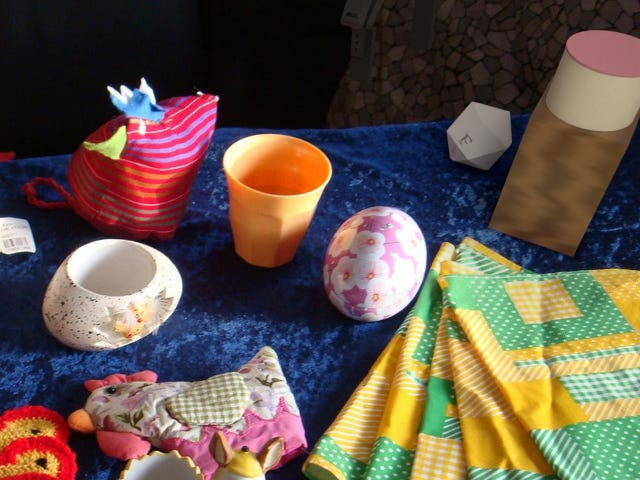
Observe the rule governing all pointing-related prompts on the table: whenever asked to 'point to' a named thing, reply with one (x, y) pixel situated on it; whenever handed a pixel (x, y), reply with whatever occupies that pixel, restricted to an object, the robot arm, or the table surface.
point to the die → (479, 135)
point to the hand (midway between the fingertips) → (390, 64)
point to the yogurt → (597, 81)
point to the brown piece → (558, 180)
